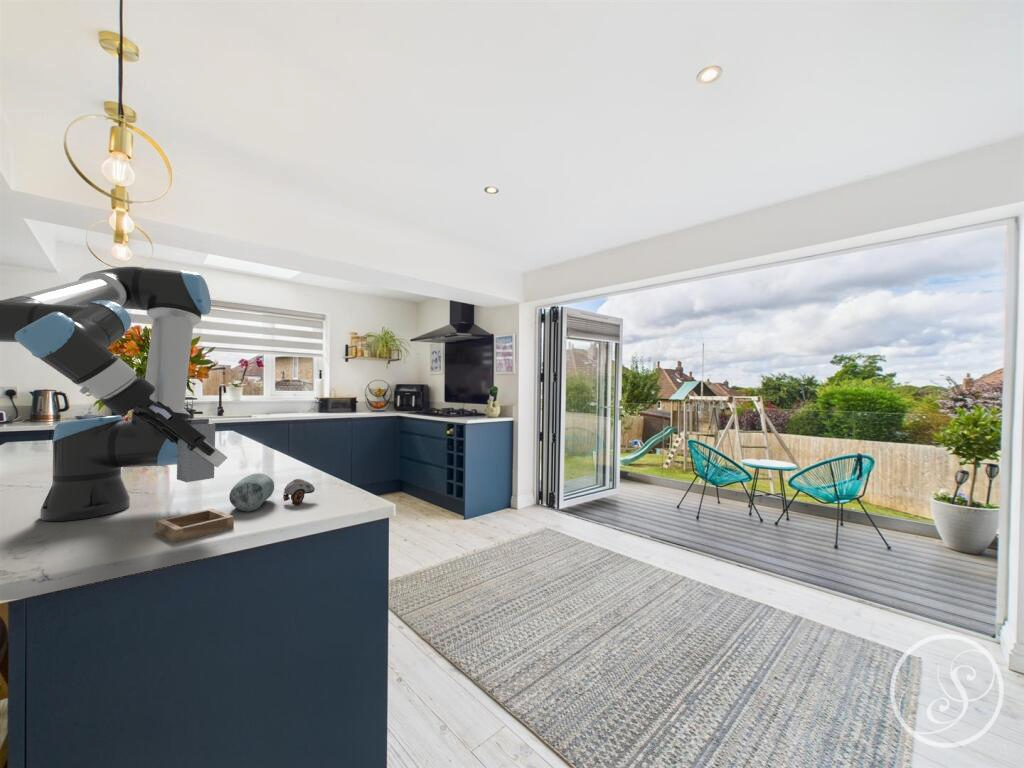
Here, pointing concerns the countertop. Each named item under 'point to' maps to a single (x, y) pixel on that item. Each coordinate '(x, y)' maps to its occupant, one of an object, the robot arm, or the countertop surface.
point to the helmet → (297, 490)
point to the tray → (194, 525)
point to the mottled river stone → (251, 492)
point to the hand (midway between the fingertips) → (215, 460)
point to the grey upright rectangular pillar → (195, 454)
